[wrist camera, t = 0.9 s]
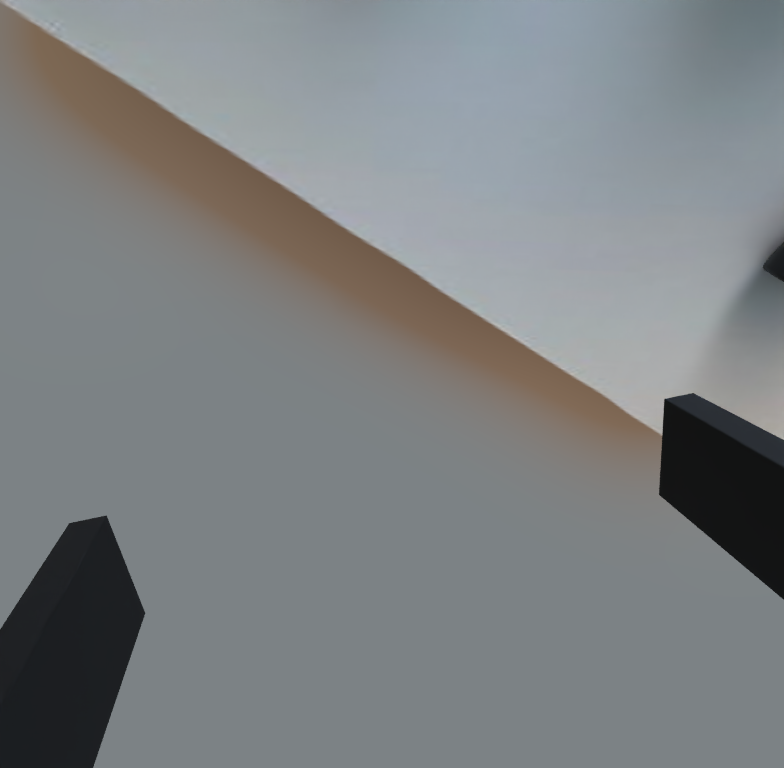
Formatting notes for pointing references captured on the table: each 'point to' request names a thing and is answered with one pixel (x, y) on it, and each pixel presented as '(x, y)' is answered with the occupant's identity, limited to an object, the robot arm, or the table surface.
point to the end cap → (776, 263)
